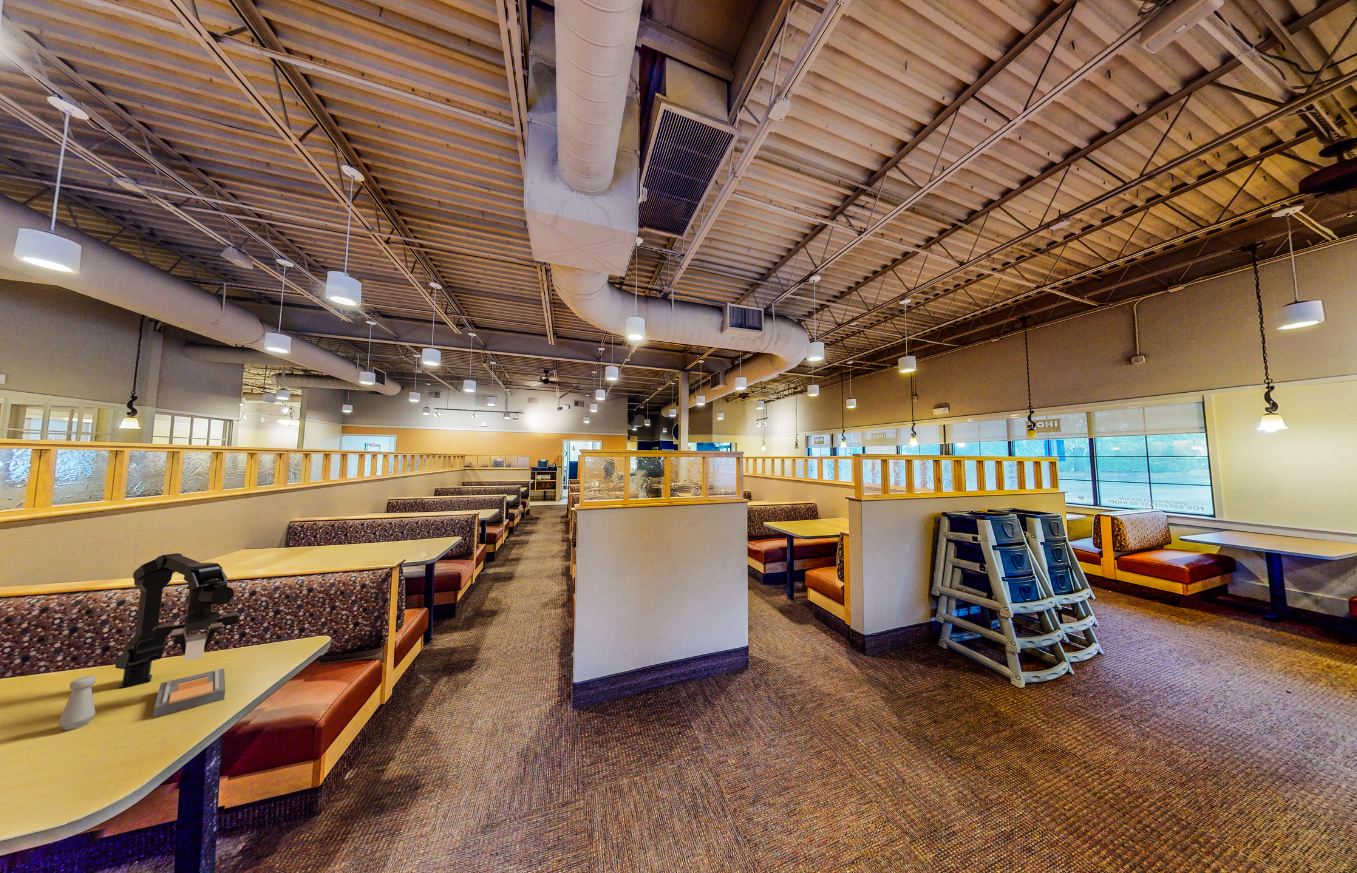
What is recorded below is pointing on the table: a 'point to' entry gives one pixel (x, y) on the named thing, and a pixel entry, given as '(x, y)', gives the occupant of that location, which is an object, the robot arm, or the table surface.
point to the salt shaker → (79, 704)
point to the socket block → (167, 687)
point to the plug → (195, 647)
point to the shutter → (191, 690)
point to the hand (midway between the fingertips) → (194, 651)
